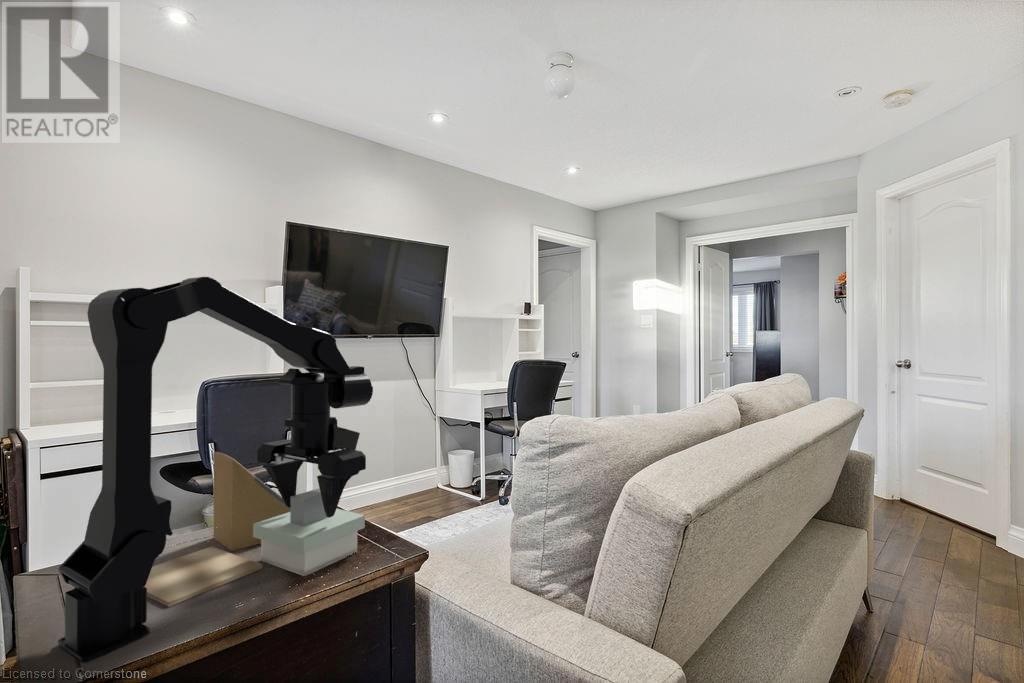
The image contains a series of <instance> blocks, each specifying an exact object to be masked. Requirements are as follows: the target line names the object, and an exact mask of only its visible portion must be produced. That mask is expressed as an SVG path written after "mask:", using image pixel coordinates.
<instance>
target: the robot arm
mask: <svg viewBox="0 0 1024 683" xmlns="http://www.w3.org/2000/svg"><path fill="white" fill-rule="evenodd" d="M197 312H200V313H201V314H203V315H205V316H208V317H210V318H212V319H214V320H217V321H219V322H220V323H222V324H225V325H226V326H229V327H231V328H233V329H235V330H237V331H239V332H242V333H244V334H245V335H248V336H250V337H252V338H254V339H255V340H258V341H260V342H261V343H264V344H265V345H267V346H268V347H270V348H271V349H272V350H273V351H274V353H275V354H276V355H277V356H278V357H279V358H280V359H282V360H283V361H285V362H286V363H287V364H289V365H291V367H294V368H291V367H290V368H288V370H287V371H286V372H285V373H284V374H283V375H282V376H280V377H279V378H278V380H277V383H278V384H279V385H288V386H289V385H291V386H290V388H291V389H290V392H291V393H290V394H291V395H290V403H291V404H290V410H291V411H290V418H286V419H284V426H285V427H290V439H281V440H275V441H270V442H265V443H262V444H261V445H260V446H259V447H258V449H257V457H256V458H257V460H256V461H257V462H259V463H263V464H262V468H263V469H265V470H266V472H267V474H268V475H269V477H270V478H271V481H273V484H274V485H275V487H276V489H277V491H278V492H279V495H280V496H281V497H282V498H283V500H284V502H285V504H286V506H287V507H291V496H294V495H297V486H298V485H297V484H298V483H297V482H298V472H299V470H300V468H301V467H302V465H303V464H304V462H305V463H310V464H314V465H315V464H316V465H317V469H318V471H319V472H320V475H317V476H316V478H317V483H318V487H319V488H318V489H320V492H321V497H322V502H323V506H324V510H325V513H326V516H327V517H328V518H330V517H332V516H334V514H335V511H336V508H337V509H338V505H339V502H340V500H341V497H342V494H343V492H344V489H345V487H346V485H347V484H348V481H350V479H351V478H352V477H354V476H356V475H359V473H360V472H361V471H364V470H366V468H367V461H366V458H367V456H366V454H365V453H364V452H363V451H362V450H357V446H358V442H359V438H360V434H361V432H358V431H354V430H351V429H348V428H344V427H341V426H338V419H337V417H335V416H331V408H332V409H344V408H345V409H346V408H350V407H351V408H353V407H358V406H359V407H360V406H365V405H367V404H368V403H369V402H370V401H371V399H372V396H373V393H374V386H373V385H372V381H371V379H370V378H369V376H368V375H367V374H366V373H365V367H364V366H360V365H356V366H355V365H354V366H349V365H348V363H347V361H346V360H345V358H344V357H343V356H344V355H343V354H342V353H341V351H340V350H339V348H338V345H337V340H336V338H335V337H334V336H333V334H331V333H329V332H327V331H324V330H321V329H317V328H314V327H311V326H307V325H301V324H298V323H293V322H291V321H288V320H286V319H284V318H282V317H281V316H279V315H277V314H275V313H273V311H270V310H268V309H267V308H264V307H262V306H261V305H259V304H257V303H256V302H253V301H252V300H250V299H248V298H247V297H244V296H243V295H241V294H239V293H237V292H235V291H234V290H232V289H230V288H228V287H225V286H224V285H222V283H220V282H219V281H218V280H216V279H215V278H213V277H210V276H199V277H188V278H186V279H183V280H181V281H179V282H176V283H171V284H167V285H162V286H158V287H153V288H150V289H148V288H144V287H131V288H130V287H129V288H121V289H110V290H106V291H104V292H101V293H99V294H98V295H97V296H96V297H94V298H93V299H92V300H91V301H90V303H89V304H88V308H87V319H88V325H89V329H90V335H91V340H92V343H93V345H94V347H95V350H96V353H97V354H98V356H99V359H100V361H101V364H102V368H103V392H102V394H103V396H102V458H101V459H102V470H101V472H102V473H101V475H102V476H101V483H102V484H101V490H100V493H99V495H98V496H97V498H96V500H95V502H94V504H93V507H92V509H91V511H90V513H89V517H88V520H87V521H88V522H87V527H86V531H85V535H84V540H83V541H82V542H81V543H80V544H79V546H77V548H76V549H75V550H74V551H73V552H72V553H71V554H70V555H69V556H68V557H67V558H66V559H65V560H64V561H63V563H62V564H61V565H60V566H59V567H58V572H59V573H60V575H61V578H62V580H63V581H64V583H65V584H68V585H70V586H72V587H74V588H73V589H70V590H68V591H65V593H64V596H65V597H64V636H63V637H61V638H59V639H58V640H57V645H58V646H59V647H60V648H61V649H63V650H64V651H66V652H67V653H68V654H70V655H72V656H73V657H75V658H76V659H77V660H79V661H80V662H86V661H89V660H92V659H95V658H96V657H98V656H100V655H104V654H106V653H108V652H110V651H112V650H115V649H117V648H120V647H121V646H123V645H126V644H128V643H131V642H133V641H135V640H137V639H139V638H142V637H145V636H147V635H148V634H150V632H151V631H150V626H149V627H148V626H147V625H145V623H146V622H147V619H148V597H147V588H146V587H144V586H145V585H146V582H147V580H148V577H149V574H150V572H151V569H152V567H153V566H154V563H155V561H156V559H157V558H158V557H160V555H162V554H163V553H164V550H165V548H166V545H167V544H166V543H167V536H172V535H173V531H172V529H171V526H170V518H171V512H172V501H171V500H170V499H167V498H164V497H160V496H158V495H155V494H154V491H153V489H152V485H151V481H152V480H151V477H152V475H151V474H152V470H151V469H152V467H151V466H152V415H153V414H152V407H153V406H152V405H153V400H152V399H153V396H152V395H153V394H152V393H153V367H154V363H155V362H156V359H157V358H158V355H159V354H160V351H161V350H162V347H163V345H164V343H165V339H166V334H167V329H168V324H169V323H170V322H173V321H177V320H179V319H183V318H186V317H188V316H191V315H193V314H195V313H197ZM300 369H304V370H305V371H307V372H302V371H301V370H300ZM321 374H323V376H322V375H321Z"/></svg>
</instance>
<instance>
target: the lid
mask: <svg viewBox="0 0 1024 683" xmlns="http://www.w3.org/2000/svg"><path fill="white" fill-rule="evenodd" d="M365 520H366V515H365V514H361V513H357V512H354V511H348V510H344V509H339V508H338V507H337V508H336V511H335V514H334V516H332V517H330V518H328V517H327V516H326V513H325V510H324V506H323V502H322V497H321V492H320V488H316V489H311V490H308V491H305V492H302V493H298V494H296V495H294V496H291V507H290V512H288V513H285V514H282V515H279V516H276V517H273V518H270V519H267V520H264V521H261V522H257V523H254V524H253V537H255V538H258V539H261V540H264V541H267V542H271V543H274V544H277V545H280V546H283V547H286V548H289V549H293V550H296V551H299V552H302V553H305V552H308V551H310V550H312V549H315V548H317V547H320V546H322V545H324V544H327V543H329V542H332V541H334V540H337V539H339V538H341V537H344V536H346V535H349V534H351V533H353V532H356V531H357V532H358V531H361V530H362V529H365V528H366V524H365V523H366V521H365Z"/></svg>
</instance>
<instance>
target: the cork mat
mask: <svg viewBox="0 0 1024 683" xmlns="http://www.w3.org/2000/svg"><path fill="white" fill-rule="evenodd" d="M260 570H263V563H260V562H256V561H254V560H251V559H248V558H245V557H243V556H240V555H236V554H235V553H231V552H229V551H227V550H222V549H221V548H217V547H216V546H215V547H214V546H209V547H206V548H203V549H200V550H197V551H194V552H191V553H188V554H185V555H183V556H180V557H176V558H173V559H171V560H167V561H165V562H162V563H159V564H155V565H153V566H152V569H151V572H150V574H149V577H148V580H147V582H146V585H145V586H144V587H146V588H147V598H149V599H152V600H154V601H155V602H157V603H159V604H162V605H164V606H166V607H168V608H170V607H172V606H174V605H176V604H177V605H178V604H179V603H182V602H184V601H187V600H189V599H192V598H194V597H196V596H199V595H202V594H203V593H206V592H209V591H211V590H213V589H216V588H219V587H221V586H223V585H225V584H228V583H230V582H232V581H235V580H238V579H240V578H242V577H245V576H247V575H249V574H252V573H255V572H257V571H260Z"/></svg>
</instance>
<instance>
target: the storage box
mask: <svg viewBox="0 0 1024 683" xmlns="http://www.w3.org/2000/svg"><path fill="white" fill-rule="evenodd" d="M355 552H356V553H358V531H356V532H353V533H351V534H349V535H346V536H344V537H341V538H339V539H337V540H334V541H332V542H329V543H327V544H324V545H322V546H320V547H317V548H315V549H312V550H310V551H308V552H305V553H302V552H299V551H296V550H293V549H289V548H286V547H283V546H280V545H277V544H274V543H271V542H267V541H264V540H261V543H260V561H261V562H263V563H266V564H268V565H272V566H274V567H277V568H280V569H283V570H285V571H289V572H291V573H294V574H297V575H300V576H301V577H306V576H308V575H311V574H313V573H316V572H317V571H320V570H321V569H324V568H326V567H328V566H330V565H332V564H335V563H337V562H339V561H341V560H343V559H345V558H347V556H348V557H349V555H350V556H352V555H354V554H356V553H355ZM353 553H354V554H353Z"/></svg>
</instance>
